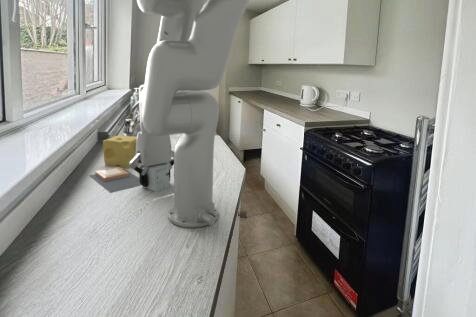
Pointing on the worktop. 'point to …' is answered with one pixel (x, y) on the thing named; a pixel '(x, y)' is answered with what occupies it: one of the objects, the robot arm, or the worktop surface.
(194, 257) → the worktop surface
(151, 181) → the skincare box
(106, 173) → the tile
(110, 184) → the mat
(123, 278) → the worktop surface
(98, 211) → the worktop surface
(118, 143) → the cheese
